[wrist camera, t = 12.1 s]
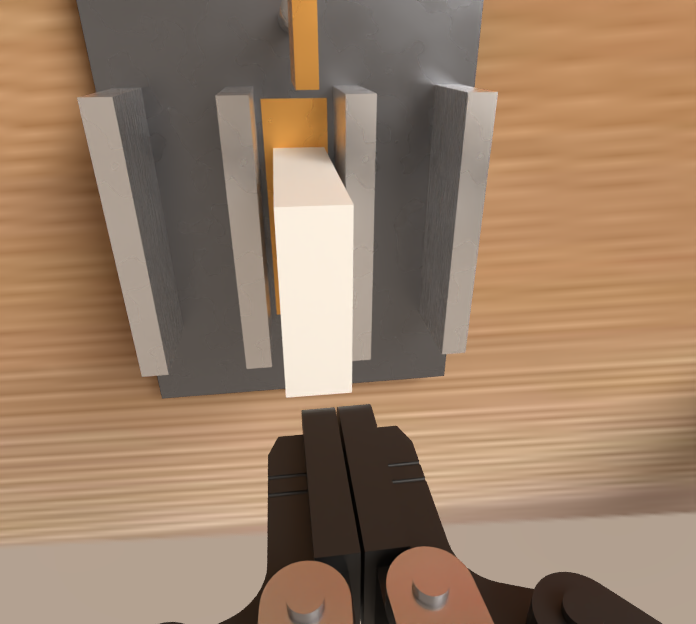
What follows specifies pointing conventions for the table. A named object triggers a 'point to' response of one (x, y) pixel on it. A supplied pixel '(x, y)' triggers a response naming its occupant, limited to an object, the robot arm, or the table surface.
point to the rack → (257, 174)
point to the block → (314, 271)
